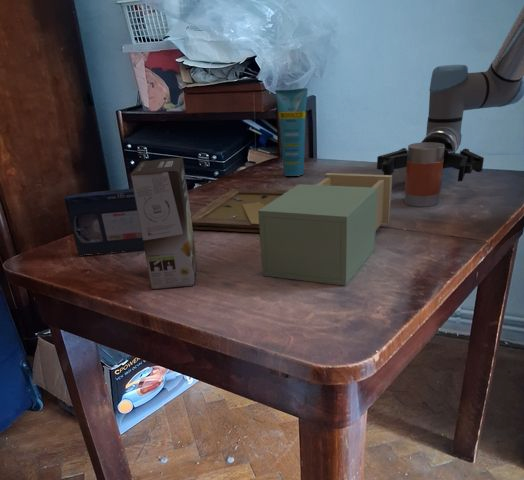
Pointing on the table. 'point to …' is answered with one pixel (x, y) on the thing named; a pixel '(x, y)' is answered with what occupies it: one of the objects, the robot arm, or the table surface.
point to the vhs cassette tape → (104, 221)
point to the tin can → (424, 174)
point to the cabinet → (318, 233)
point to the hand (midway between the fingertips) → (422, 172)
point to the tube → (292, 128)
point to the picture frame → (235, 210)
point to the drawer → (367, 180)
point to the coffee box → (165, 222)
